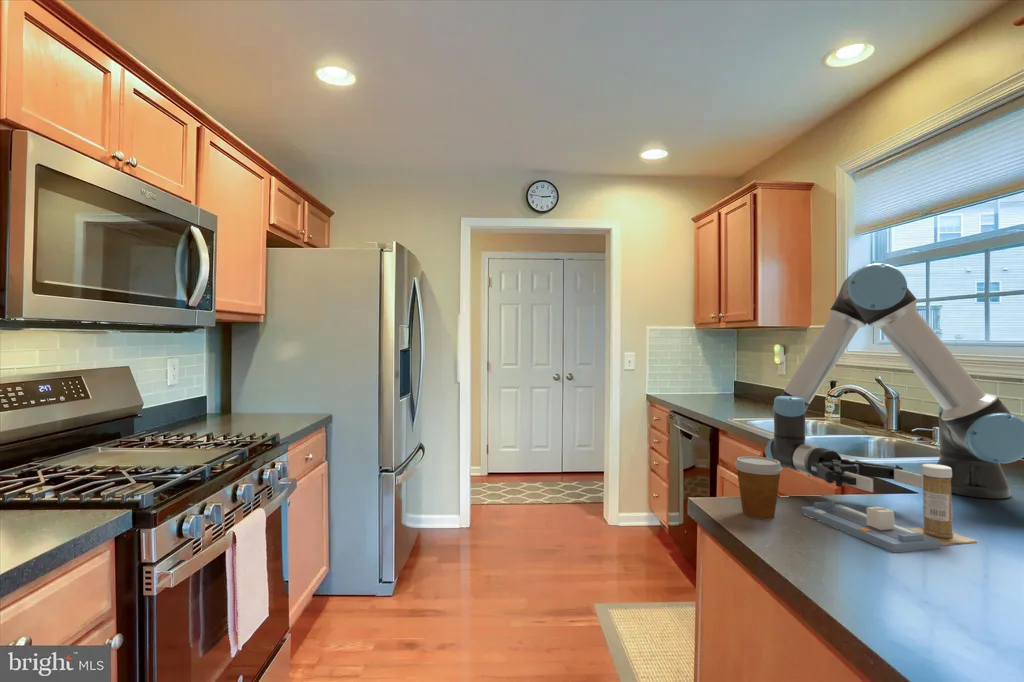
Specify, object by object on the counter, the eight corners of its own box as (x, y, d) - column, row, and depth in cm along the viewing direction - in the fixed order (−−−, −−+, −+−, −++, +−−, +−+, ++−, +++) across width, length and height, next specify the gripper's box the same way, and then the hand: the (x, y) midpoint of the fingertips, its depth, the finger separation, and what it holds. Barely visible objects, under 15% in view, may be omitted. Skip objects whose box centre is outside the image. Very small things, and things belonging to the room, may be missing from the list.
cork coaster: (934, 527, 104) (934, 526, 104) (976, 542, 96) (976, 540, 96) (901, 530, 102) (901, 529, 102) (942, 545, 94) (942, 543, 94)
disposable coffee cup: (726, 508, 116) (726, 456, 116) (766, 507, 117) (766, 455, 117) (749, 522, 107) (749, 465, 107) (792, 521, 107) (792, 464, 108)
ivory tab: (880, 523, 101) (880, 505, 101) (894, 528, 98) (894, 510, 98) (866, 524, 100) (866, 506, 101) (880, 529, 98) (880, 511, 98)
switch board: (839, 511, 115) (839, 499, 115) (939, 548, 93) (938, 534, 93) (801, 513, 113) (801, 502, 113) (893, 552, 91) (893, 538, 91)
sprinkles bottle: (956, 535, 99) (955, 466, 99) (948, 540, 96) (947, 469, 96) (927, 529, 102) (926, 462, 103) (918, 533, 100) (917, 464, 100)
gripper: (859, 474, 131) (945, 498, 110) (775, 479, 126) (849, 505, 105) (859, 445, 131) (944, 463, 110) (775, 449, 126) (848, 468, 105)
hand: (898, 483), depth 108 cm, fingers open, 13 cm apart
